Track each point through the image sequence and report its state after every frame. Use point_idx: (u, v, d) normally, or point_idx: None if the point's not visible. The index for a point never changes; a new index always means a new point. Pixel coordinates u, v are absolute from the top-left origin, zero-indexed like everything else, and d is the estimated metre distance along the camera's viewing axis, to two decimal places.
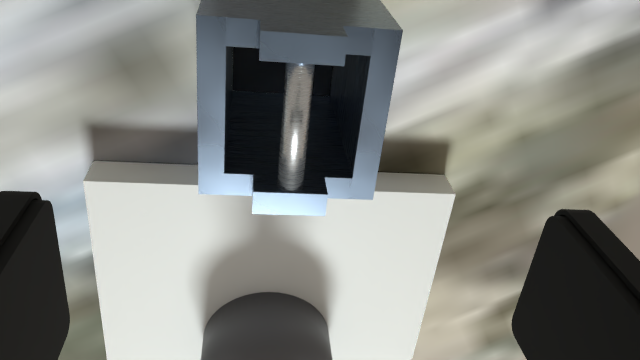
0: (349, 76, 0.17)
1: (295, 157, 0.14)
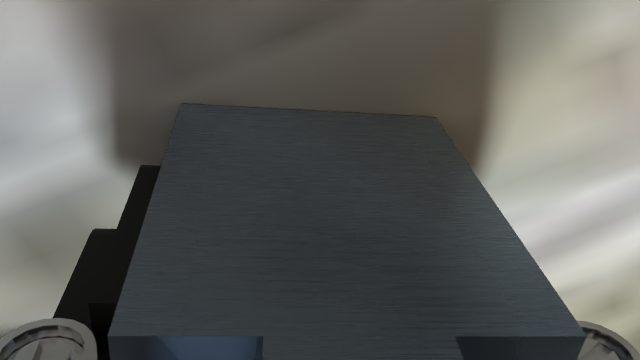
0: None
1: None
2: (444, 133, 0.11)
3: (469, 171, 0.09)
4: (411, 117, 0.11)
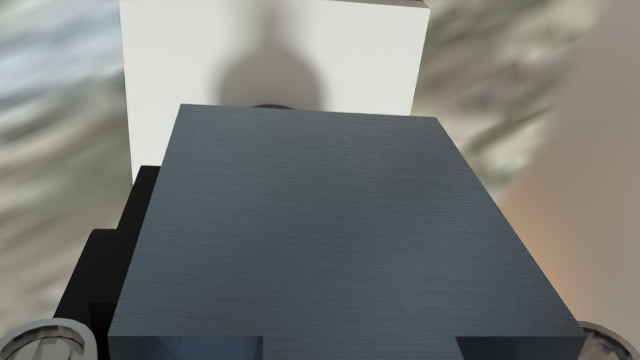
0: None
1: None
2: (444, 133, 0.11)
3: (469, 171, 0.09)
4: (411, 117, 0.11)
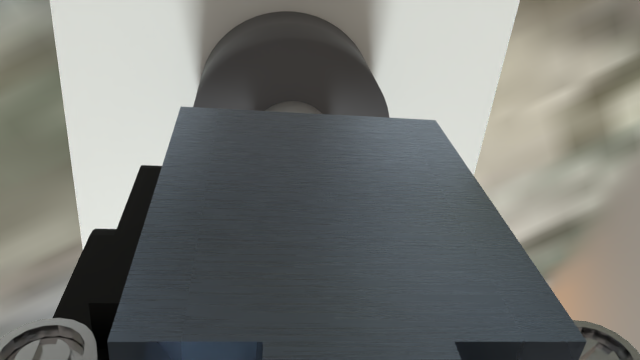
0: None
1: None
2: (444, 136, 0.11)
3: (469, 174, 0.09)
4: (411, 120, 0.11)
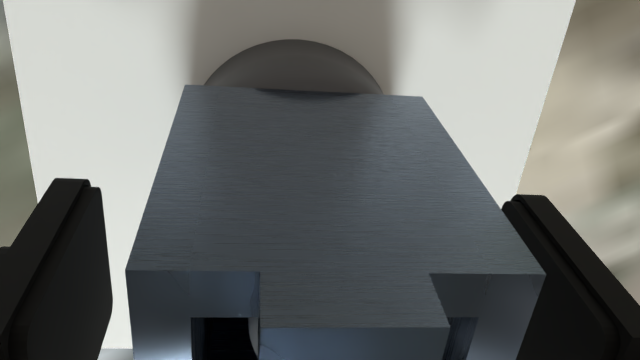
0: None
1: None
2: (429, 110, 0.11)
3: (451, 142, 0.10)
4: (399, 96, 0.12)
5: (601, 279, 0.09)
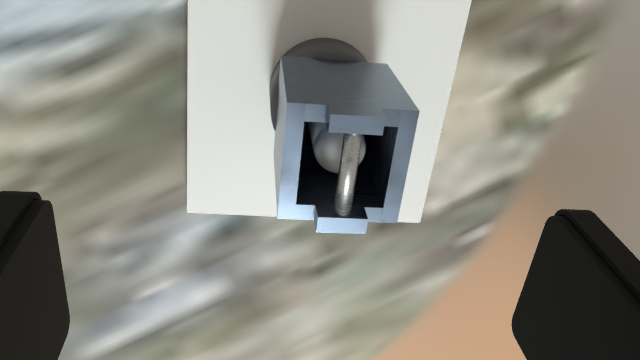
0: (379, 136, 0.24)
1: (347, 193, 0.22)
2: (389, 68, 0.26)
3: (396, 79, 0.24)
4: (376, 63, 0.26)
5: None
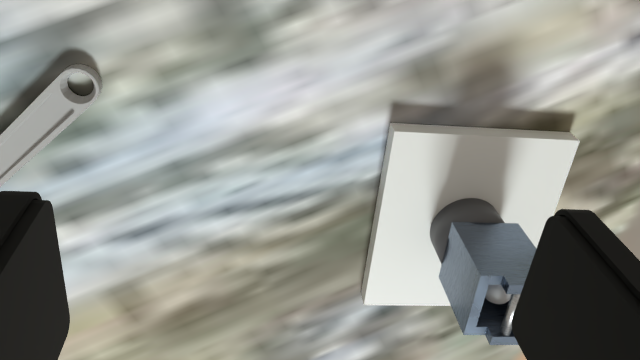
0: None
1: (511, 323, 0.36)
2: (521, 229, 0.40)
3: (530, 241, 0.39)
4: (511, 223, 0.41)
5: None
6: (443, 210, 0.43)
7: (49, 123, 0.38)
